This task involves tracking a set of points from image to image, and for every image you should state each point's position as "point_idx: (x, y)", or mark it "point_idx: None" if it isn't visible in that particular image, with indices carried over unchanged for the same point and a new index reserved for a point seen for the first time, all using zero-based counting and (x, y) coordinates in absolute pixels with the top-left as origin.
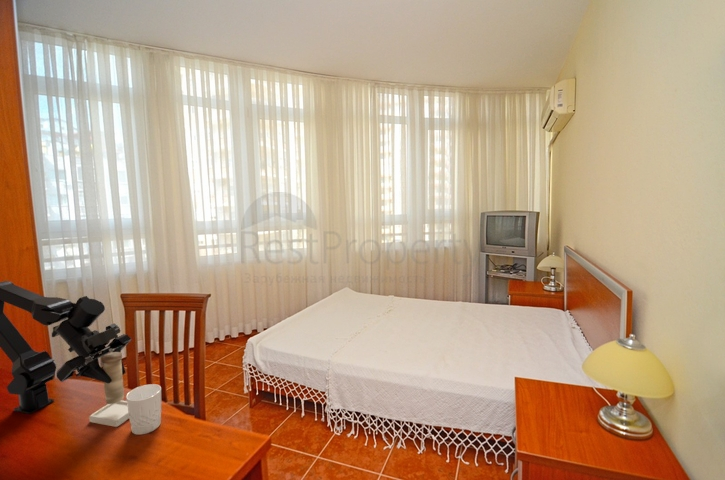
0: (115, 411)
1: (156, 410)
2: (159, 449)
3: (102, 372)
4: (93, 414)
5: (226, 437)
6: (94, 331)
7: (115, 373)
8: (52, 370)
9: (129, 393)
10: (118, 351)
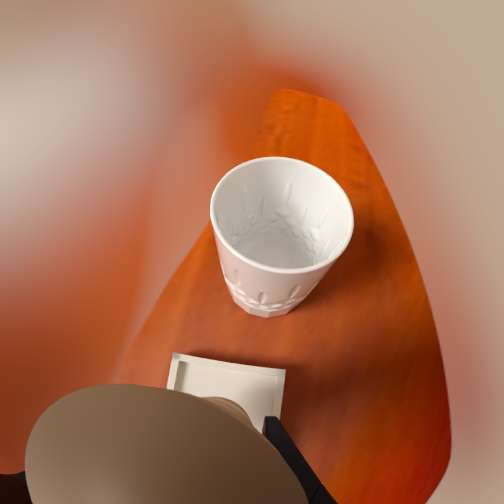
0: None
1: (279, 206)
2: None
3: (305, 483)
4: None
5: (275, 118)
6: None
7: (232, 411)
8: None
9: (302, 268)
10: (4, 489)
